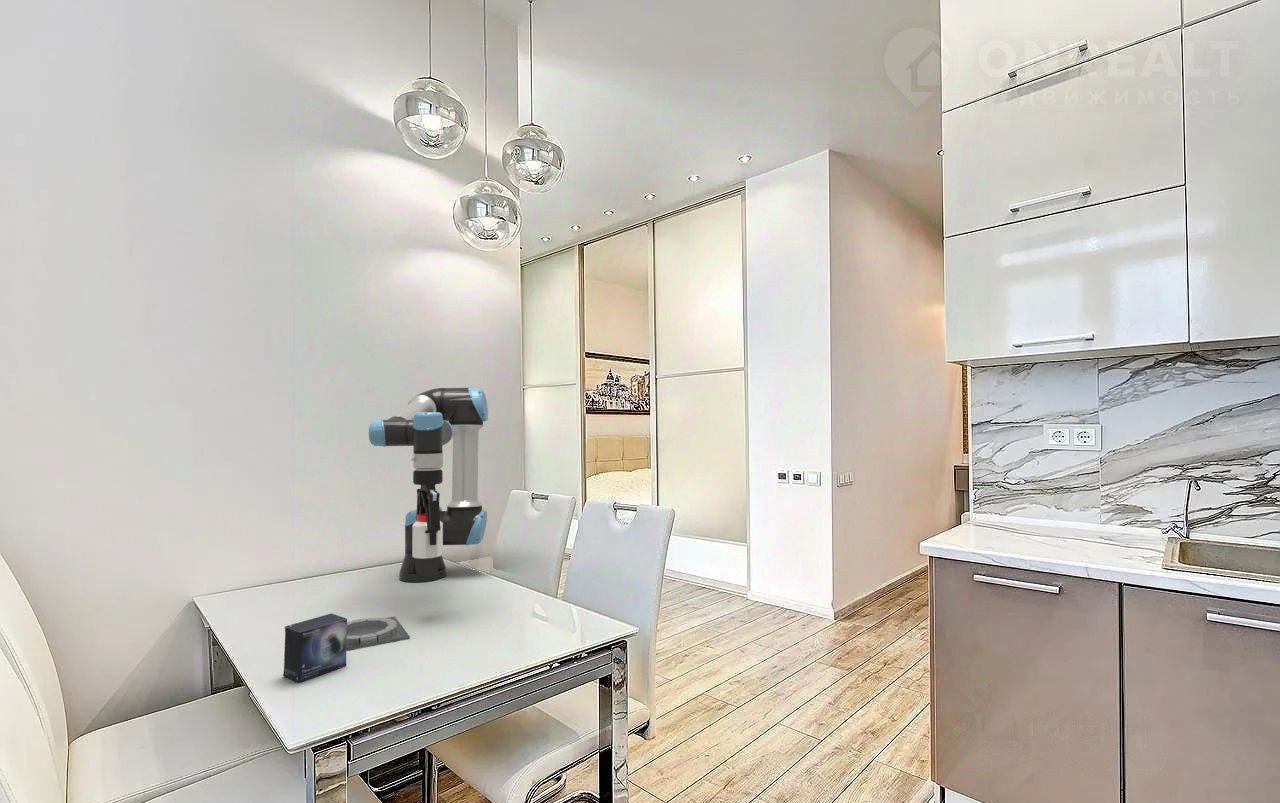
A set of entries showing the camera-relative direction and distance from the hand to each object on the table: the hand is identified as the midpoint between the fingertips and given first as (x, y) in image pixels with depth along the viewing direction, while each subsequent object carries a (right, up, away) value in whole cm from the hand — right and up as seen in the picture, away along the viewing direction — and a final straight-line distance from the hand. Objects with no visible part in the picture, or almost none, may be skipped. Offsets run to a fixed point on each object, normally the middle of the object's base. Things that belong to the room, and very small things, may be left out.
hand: (427, 554), depth 163 cm
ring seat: (-12, -17, -12) cm, 24 cm away
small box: (-12, -17, -34) cm, 40 cm away
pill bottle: (0, 0, 0) cm, 0 cm away
